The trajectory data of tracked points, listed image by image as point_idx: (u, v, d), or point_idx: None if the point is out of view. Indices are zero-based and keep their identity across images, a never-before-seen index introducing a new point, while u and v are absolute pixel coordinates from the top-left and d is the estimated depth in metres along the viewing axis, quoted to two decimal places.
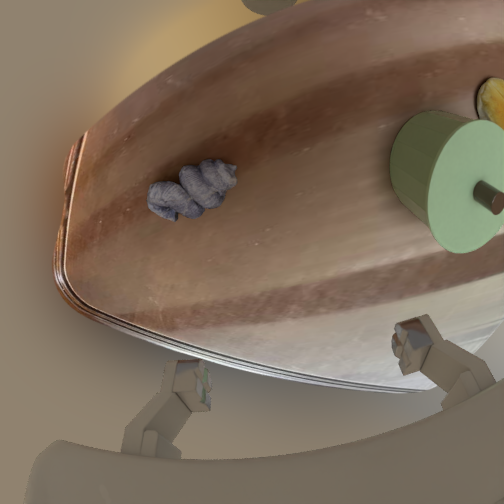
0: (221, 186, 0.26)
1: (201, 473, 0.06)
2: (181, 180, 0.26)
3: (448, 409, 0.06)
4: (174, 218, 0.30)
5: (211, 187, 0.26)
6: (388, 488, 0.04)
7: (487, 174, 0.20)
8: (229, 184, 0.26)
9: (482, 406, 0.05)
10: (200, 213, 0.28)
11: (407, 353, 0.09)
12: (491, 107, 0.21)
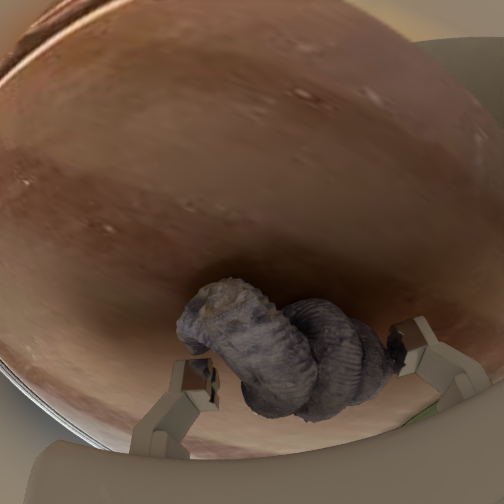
0: None
1: (201, 473, 0.06)
2: (327, 357, 0.09)
3: (448, 409, 0.06)
4: (198, 352, 0.11)
5: (347, 402, 0.10)
6: (388, 488, 0.04)
7: None
8: None
9: (482, 406, 0.05)
10: None
11: (402, 355, 0.09)
12: None
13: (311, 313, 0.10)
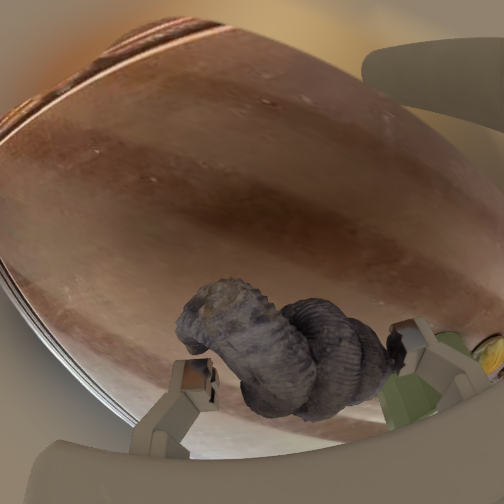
0: (354, 404, 0.10)
1: (201, 473, 0.06)
2: (326, 357, 0.09)
3: (448, 409, 0.06)
4: (197, 352, 0.11)
5: (346, 402, 0.10)
6: (388, 488, 0.04)
7: None
8: None
9: (482, 406, 0.05)
10: None
11: (401, 355, 0.09)
12: (487, 358, 0.28)
13: (310, 313, 0.10)
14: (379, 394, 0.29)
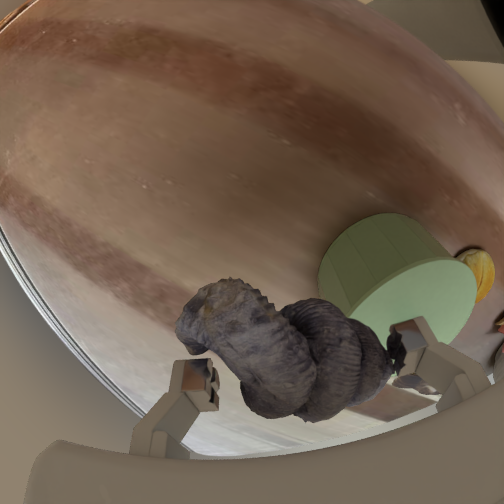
0: (354, 405, 0.10)
1: (201, 473, 0.06)
2: (326, 357, 0.09)
3: (448, 409, 0.06)
4: (197, 352, 0.11)
5: (346, 403, 0.10)
6: (388, 488, 0.04)
7: (431, 321, 0.21)
8: None
9: (482, 406, 0.05)
10: None
11: (401, 355, 0.09)
12: None
13: (310, 313, 0.10)
14: (321, 295, 0.28)
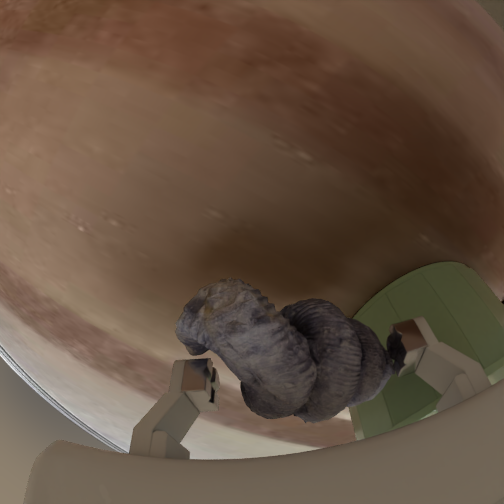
0: (354, 405, 0.10)
1: (201, 473, 0.06)
2: (326, 358, 0.09)
3: (448, 409, 0.06)
4: (197, 353, 0.11)
5: (347, 403, 0.10)
6: (388, 488, 0.04)
7: None
8: None
9: (482, 406, 0.05)
10: None
11: (401, 355, 0.09)
12: None
13: (310, 314, 0.10)
14: None
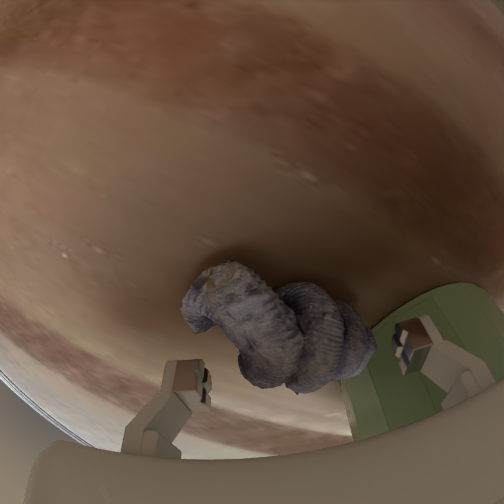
0: (341, 379, 0.12)
1: (201, 473, 0.06)
2: (312, 329, 0.11)
3: (448, 409, 0.06)
4: (200, 331, 0.13)
5: (333, 375, 0.12)
6: (388, 488, 0.04)
7: None
8: None
9: (482, 406, 0.05)
10: None
11: (407, 353, 0.09)
12: None
13: (298, 293, 0.12)
14: (345, 397, 0.17)
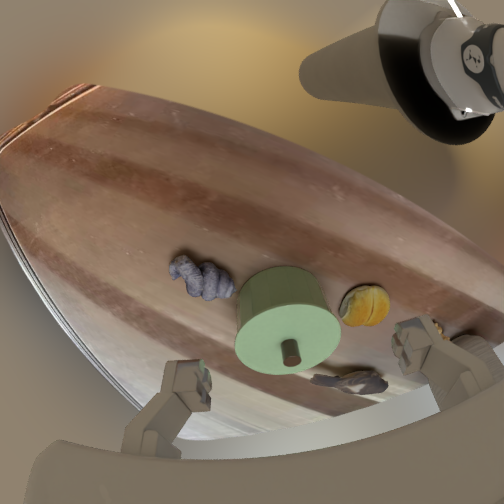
0: (221, 297, 0.39)
1: (201, 473, 0.06)
2: (205, 275, 0.37)
3: (448, 409, 0.06)
4: (175, 278, 0.39)
5: (217, 293, 0.38)
6: (388, 488, 0.04)
7: (302, 339, 0.37)
8: (225, 297, 0.39)
9: (482, 406, 0.05)
10: None
11: (407, 353, 0.09)
12: (355, 303, 0.42)
13: (204, 265, 0.39)
14: None
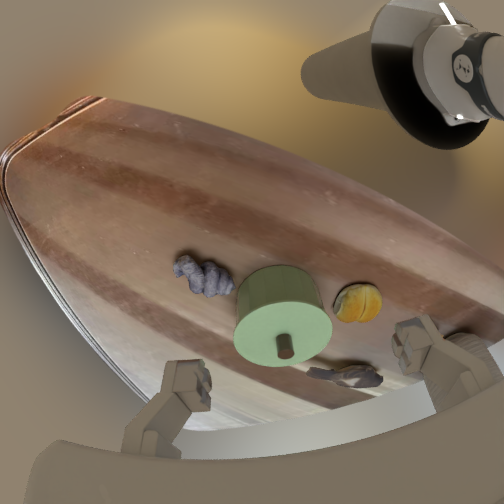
0: (221, 293, 0.42)
1: (201, 473, 0.06)
2: (207, 273, 0.40)
3: (448, 409, 0.06)
4: (178, 276, 0.43)
5: (217, 290, 0.41)
6: (388, 488, 0.04)
7: (296, 334, 0.40)
8: (225, 294, 0.43)
9: (482, 406, 0.05)
10: (198, 293, 0.42)
11: (407, 353, 0.09)
12: (348, 301, 0.45)
13: (205, 264, 0.42)
14: None
